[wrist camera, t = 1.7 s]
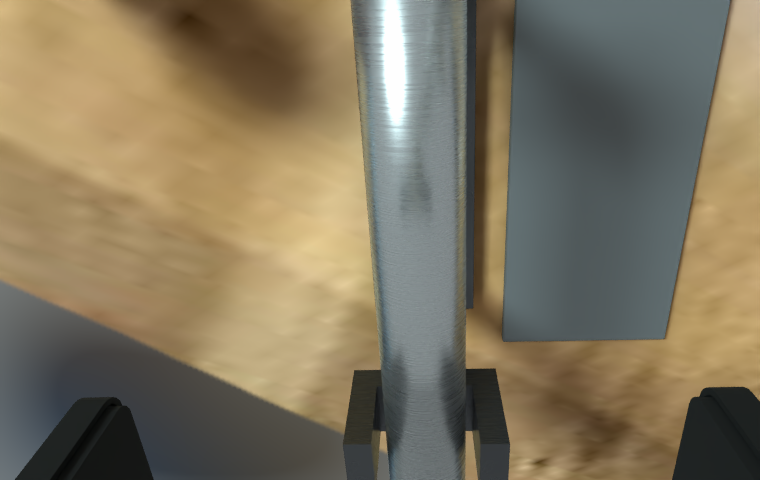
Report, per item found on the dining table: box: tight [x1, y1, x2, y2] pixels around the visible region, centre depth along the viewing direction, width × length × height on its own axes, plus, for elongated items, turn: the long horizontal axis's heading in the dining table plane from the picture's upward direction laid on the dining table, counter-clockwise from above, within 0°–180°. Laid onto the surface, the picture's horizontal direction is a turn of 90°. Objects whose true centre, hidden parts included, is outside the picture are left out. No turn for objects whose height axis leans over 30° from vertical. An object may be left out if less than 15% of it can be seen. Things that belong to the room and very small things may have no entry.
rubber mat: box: [502, 0, 730, 342], centre depth 29 cm, size 10×30×1 cm, turn 4°
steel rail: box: [351, 0, 467, 480], centre depth 17 cm, size 24×3×3 cm, turn 4°
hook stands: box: [343, 0, 510, 480], centre depth 23 cm, size 6×24×16 cm, turn 4°
